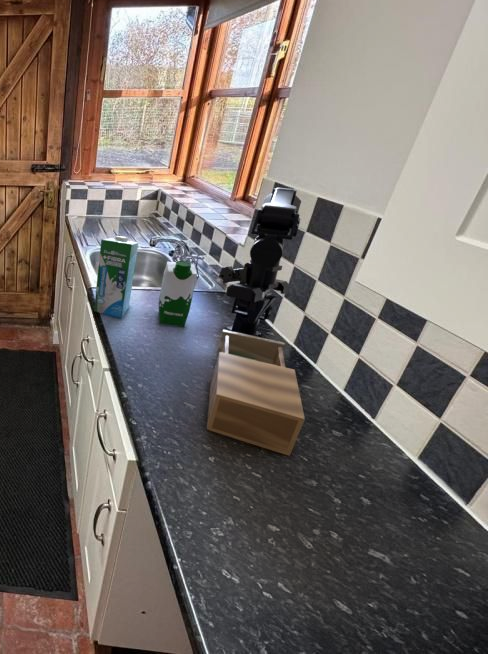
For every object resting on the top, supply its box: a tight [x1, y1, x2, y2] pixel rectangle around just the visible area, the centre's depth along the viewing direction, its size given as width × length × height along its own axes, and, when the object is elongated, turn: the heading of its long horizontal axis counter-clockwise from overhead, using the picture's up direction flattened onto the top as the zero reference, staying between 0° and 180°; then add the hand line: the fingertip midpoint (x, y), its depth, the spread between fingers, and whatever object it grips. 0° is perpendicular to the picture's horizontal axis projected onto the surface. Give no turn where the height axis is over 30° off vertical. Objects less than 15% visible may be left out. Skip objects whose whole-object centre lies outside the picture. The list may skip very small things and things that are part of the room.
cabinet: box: [206, 352, 306, 457], centre depth 87 cm, size 17×15×10 cm
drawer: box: [215, 329, 286, 368], centre depth 98 cm, size 17×13×8 cm
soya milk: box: [158, 260, 198, 328], centre depth 122 cm, size 9×9×20 cm
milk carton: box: [93, 235, 139, 319], centre depth 128 cm, size 9×9×25 cm
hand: (251, 322), depth 98 cm, fingers closed
